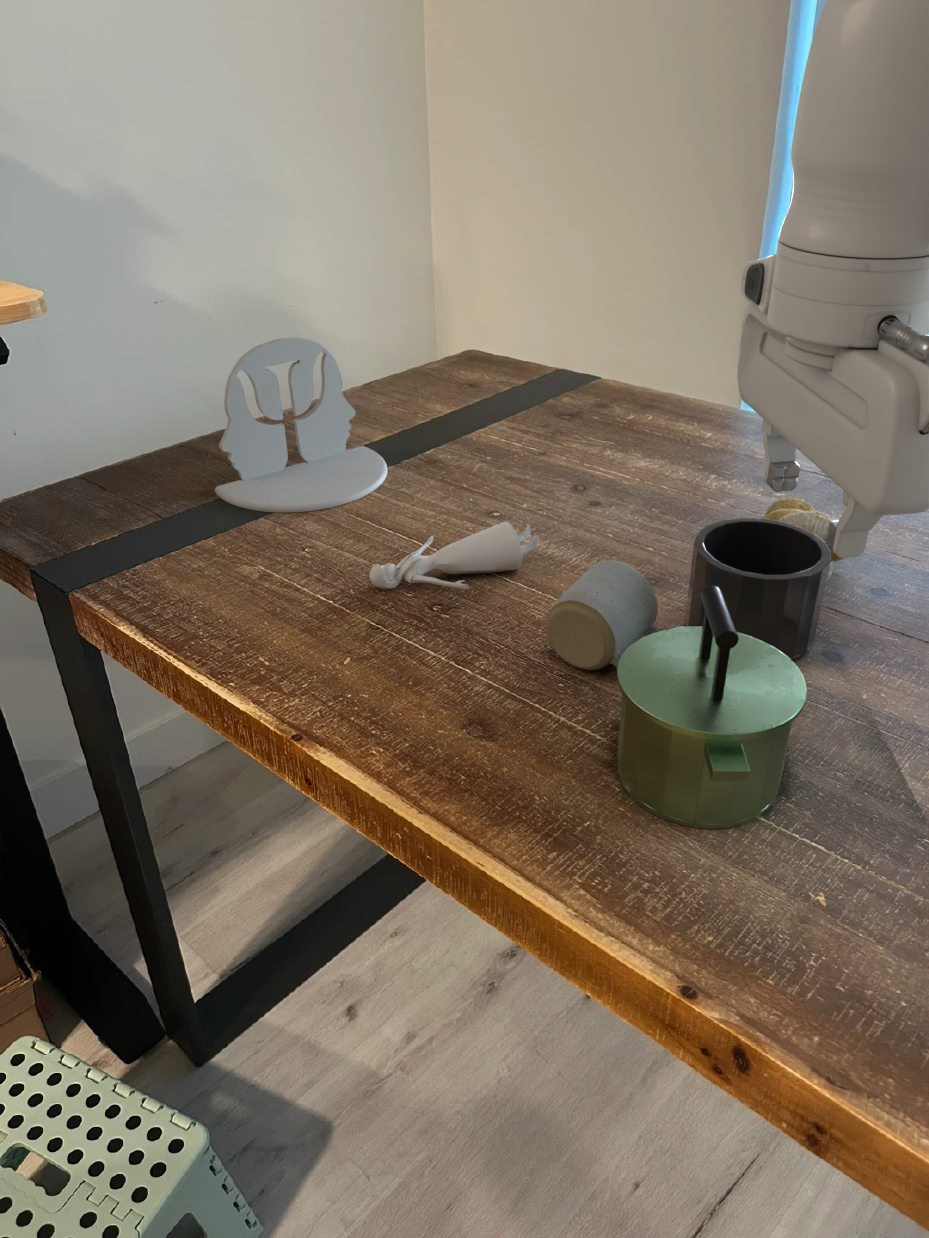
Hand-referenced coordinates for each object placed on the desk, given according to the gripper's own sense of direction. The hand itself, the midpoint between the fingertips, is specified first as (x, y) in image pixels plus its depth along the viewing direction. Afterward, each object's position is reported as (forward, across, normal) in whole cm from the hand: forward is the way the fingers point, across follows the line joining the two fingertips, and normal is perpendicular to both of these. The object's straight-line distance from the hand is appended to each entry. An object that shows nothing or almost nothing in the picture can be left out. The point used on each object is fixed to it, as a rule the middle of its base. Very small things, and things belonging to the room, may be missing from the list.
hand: (809, 517), depth 63 cm
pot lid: (+13, +1, +5) cm, 14 cm away
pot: (+22, +1, +5) cm, 22 cm away
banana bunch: (+22, +32, -18) cm, 43 cm away
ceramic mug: (+22, +18, +7) cm, 29 cm away
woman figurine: (+22, +35, +19) cm, 46 cm away
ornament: (+22, +60, +33) cm, 72 cm away
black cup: (+22, +20, -7) cm, 30 cm away
